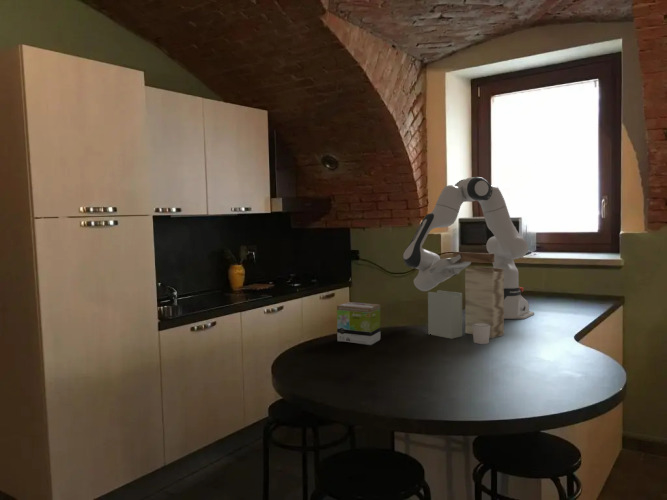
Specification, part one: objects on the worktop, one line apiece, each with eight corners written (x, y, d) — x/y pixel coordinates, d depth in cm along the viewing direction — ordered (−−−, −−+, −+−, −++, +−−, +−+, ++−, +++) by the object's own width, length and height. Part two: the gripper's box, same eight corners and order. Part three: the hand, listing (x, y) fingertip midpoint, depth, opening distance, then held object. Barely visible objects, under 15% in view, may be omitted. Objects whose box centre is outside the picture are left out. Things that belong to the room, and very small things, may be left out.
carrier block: (439, 331, 228) (438, 290, 227) (462, 335, 219) (462, 292, 218) (428, 334, 224) (427, 291, 222) (451, 338, 214) (451, 294, 213)
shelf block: (477, 330, 229) (476, 266, 228) (503, 334, 219) (503, 268, 218) (465, 332, 224) (465, 268, 222) (492, 337, 214) (492, 270, 212)
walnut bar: (458, 259, 232) (458, 251, 232) (494, 262, 218) (494, 253, 218) (453, 260, 230) (452, 252, 230) (489, 262, 216) (489, 254, 216)
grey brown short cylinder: (488, 340, 211) (488, 322, 210) (492, 344, 204) (492, 326, 204) (470, 340, 211) (470, 322, 211) (473, 344, 205) (473, 326, 204)
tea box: (336, 342, 213) (335, 305, 212) (347, 336, 222) (347, 301, 221) (371, 345, 206) (370, 307, 205) (381, 340, 215) (380, 303, 214)
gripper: (424, 265, 231) (446, 250, 222) (453, 261, 244) (475, 247, 235) (430, 278, 229) (452, 264, 220) (459, 274, 242) (481, 260, 233)
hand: (464, 255), depth 227 cm, fingers closed on walnut bar, 3 cm apart
